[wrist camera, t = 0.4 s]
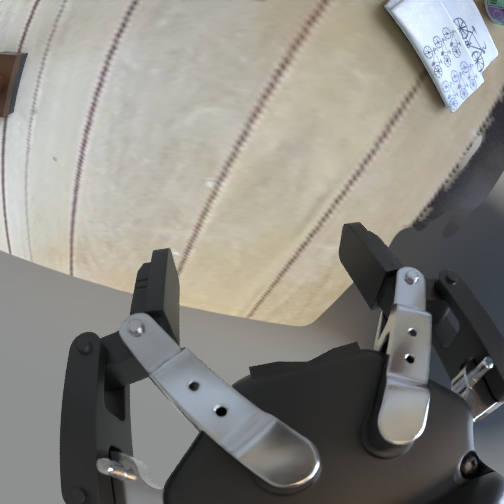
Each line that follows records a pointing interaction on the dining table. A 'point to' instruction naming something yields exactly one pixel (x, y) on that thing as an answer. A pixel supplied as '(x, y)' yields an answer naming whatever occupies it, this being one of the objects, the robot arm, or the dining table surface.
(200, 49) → the dining table surface
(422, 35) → the folded bicycle print cloth
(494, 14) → the spray can
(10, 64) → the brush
